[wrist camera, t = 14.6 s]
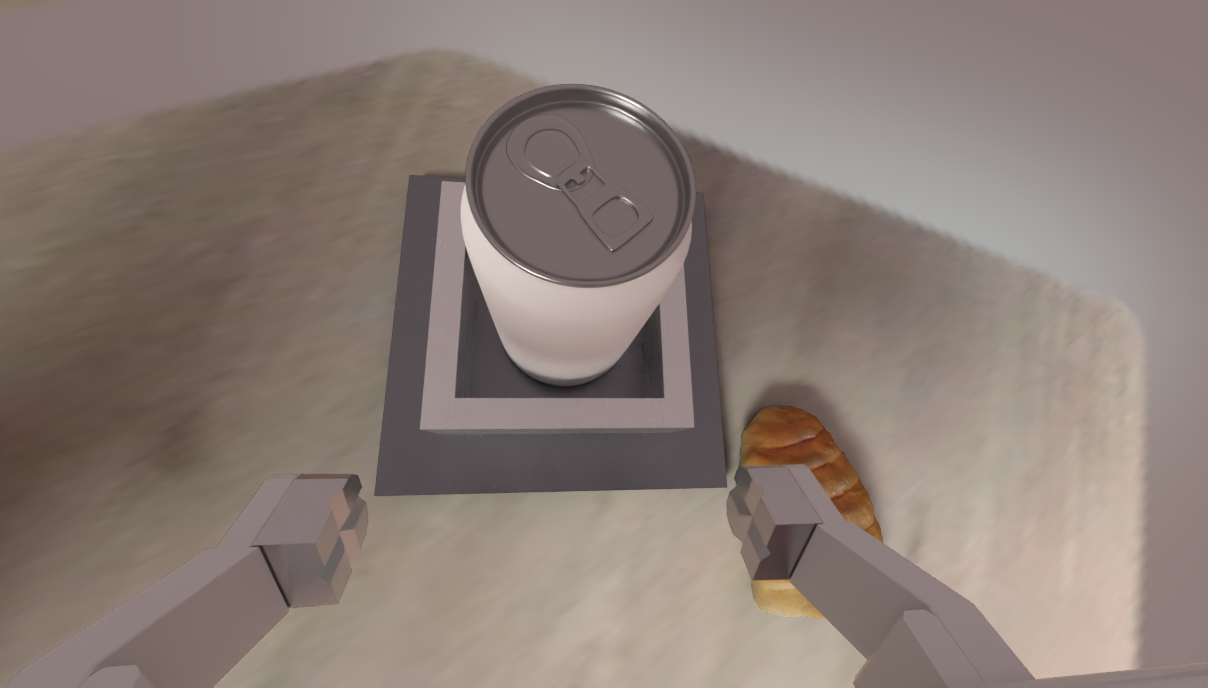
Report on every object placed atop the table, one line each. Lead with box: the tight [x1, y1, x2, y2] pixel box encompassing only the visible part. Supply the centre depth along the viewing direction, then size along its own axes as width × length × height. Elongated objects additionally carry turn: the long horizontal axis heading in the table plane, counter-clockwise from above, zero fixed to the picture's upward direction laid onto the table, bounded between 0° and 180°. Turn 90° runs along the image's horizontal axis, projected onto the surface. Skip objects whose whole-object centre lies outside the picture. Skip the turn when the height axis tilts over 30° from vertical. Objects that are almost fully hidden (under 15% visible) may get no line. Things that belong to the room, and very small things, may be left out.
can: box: [461, 84, 696, 386], centre depth 16 cm, size 6×6×12 cm
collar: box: [374, 175, 727, 496], centre depth 21 cm, size 16×16×4 cm
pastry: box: [738, 406, 883, 619], centre depth 21 cm, size 9×7×4 cm
